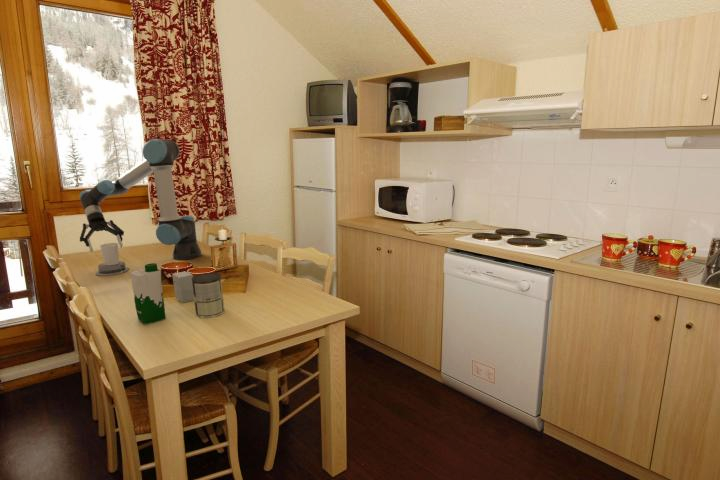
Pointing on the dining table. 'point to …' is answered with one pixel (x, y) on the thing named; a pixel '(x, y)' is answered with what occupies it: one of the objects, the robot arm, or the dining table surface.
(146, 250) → the dining table surface
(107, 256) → the white cup
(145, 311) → the milk carton
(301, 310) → the dining table surface
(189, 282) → the small box
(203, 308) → the coffee can
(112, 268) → the grey round shallow piece
